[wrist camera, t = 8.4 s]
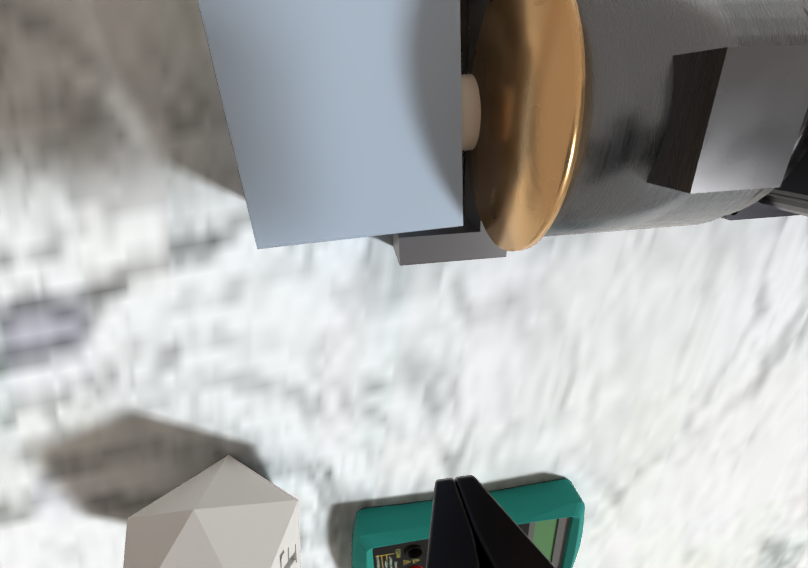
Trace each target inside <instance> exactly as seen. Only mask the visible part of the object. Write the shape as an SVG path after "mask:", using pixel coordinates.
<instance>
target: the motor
mask: <svg viewBox="0 0 808 568" xmlns="http://www.w3.org/2000/svg"><path fill="white" fill-rule="evenodd" d="M472 68H473V69H472V75H473V76H474V77H475V79H476V81H477V84H478V88H479V94H480V103H481V123H480V132H479V137H478V141H477V144H476V146H475V148H474V149H475V150H474V149H473V150H474V151H473V150H470V151H471V152H472V153H471V152H470V153H471V154H472V155H471V154H469V158H470V160H471V161H472V162H471V161H469V162H470V165H471V164H472V165H471V166H474V167H473V168H472V169H473V171H472V169H471V171H470V172H471V174H472V173H473V174H474V175H471V179H472V182H471V183H472V189H473V190H474V191H473V194H474V199H475V203H476V207H477V210H478V213H479V216H480V219H481V221H482V224H483V226H484V228H485V230H486V232H487V234H488V235H489V237H490V238H491V240H492V241H493V242H494V243H495V244H496V245H497V246H498V247H500V248H501V249H503V250H506V251H520V250H525V249H528V248H530V247H532V246H533V245H535V244H536V243H537V242H538V241H539V240H540V239H541V238H542V237H543V236H556V235H569V234H582V233H594V232H607V231H620V230H633V229H645V228H658V227H671V226H684V225H696V224H701V223H706V222H710V221H713V220H715V219H718V218H720V217H723V216H725V215H729V214H732V213H734V212H737V211H740V210H742V209H744V208H746V207H748V206H750V205H752V204H754V203H755V202H757V201H758V200H760V199H761V198H763V197H764V196H766V195H767V194H768V193H770V192H771V191H772V190H773V189H774V188H777V187H780V186H781V183H782V181H783V180H784V179H785V178H786V177H787V176H788V175H789V173H790V172H791V171H792V170H793V169H794V168H795V167H796V165H797V164H798V163H799V161H800V160H801V158H802V157H803V156H804V154H805V153H806V151H807V150H808V0H490V2H489V4H488V7H487V10H486V13H485V16H484V19H483V22H482V26H481V29H480V33H479V37H478V41H477V45H476V50H475V56H474V61H473V67H472ZM479 70H480V71H479ZM476 150H478V151H476ZM468 152H469V151H468ZM470 155H471V156H470ZM476 155H477V156H476ZM474 158H475V159H474ZM471 166H470V167H471ZM476 166H477V167H476ZM472 176H473V177H472ZM474 176H475V177H474ZM477 179H478V180H477ZM475 182H476V183H475ZM478 182H479V183H478ZM474 184H476V185H474ZM473 185H474V186H473ZM474 188H475V189H474ZM476 189H477V190H476ZM475 190H476V191H475ZM474 192H475V193H474Z"/></svg>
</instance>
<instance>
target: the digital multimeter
mask: <svg viewBox="0 0 808 568" xmlns="http://www.w3.org/2000/svg"><path fill="white" fill-rule="evenodd" d="M489 493H490V495H491V496H492V497H493V498H494V499H495V500H496V501H497V502H498V504H499V505H500V506H501V507H502V508H503V509H504V510H505V511H506V513H507V514H508V515H509V516H510V517H511V518H512V519H513V520H514V521H515V523H516V524H517V525H518V526H519V527H520V528H521V529H522V530H523V532H524V533H525V534H526V535H527V536H528V537H529V538H530V539H531V541H532V542H533V543H534V544H535V545H536V546H537V547H538V548H539V550H540V551H541V552H542V553H543V554H544V555H545V556H546V557H547V559H548V560H549V561H550V562H551V563H552V564H553V565H554V566H555V568H572V567H573V564H574V562H575V559H576V556H577V553H578V550H579V546H580V542H581V537H582V531H583V523H584V510H585V505H584V503H583V501H582V499H581V498H580V496H579V494H578V493H577V491H576V489H575V488H574V486H573V484H572V483H571V481H570V480H568V479H561V480H554V481H548V482H541V483H536V484H531V485H525V486H520V487H515V488H510V489H504V490H498V491H491V492H489ZM432 506H433V500H430V501H422V502H415V503H408V504H399V505H390V506H381V507H372V508H365V509H361V510H360V511H358V512H357V515H356V519H355V524H354V528H353V537H352V568H426V560H427V551H428V542H429V533H430V524H431V515H432ZM373 562H374V563H373Z"/></svg>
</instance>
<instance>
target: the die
mask: <svg viewBox="0 0 808 568" xmlns="http://www.w3.org/2000/svg"><path fill="white" fill-rule="evenodd" d="M123 568H301V551H300V529H299V507H298V500H297V499H296V498H294V497H293V496H291V495H290V494H288V493H286V492H285V491H283V490H282V489H280V488H279V487H277V486H276V485H274V484H273V483H271V482H269V481H268V480H266V479H265V478H263V477H262V476H260V475H259V474H257V473H256V472H254V471H253V470H251V469H249V468H248V467H246V466H245V465H243V464H242V463H240V462H239V461H237V460H236V459H234V458H232V457H231V456H229V455H228V456H226V457H224V458H223V459H221V460H220V461H218V462H216V463H215V464H213V465H212V466H210V467H208V468H207V469H205V470H204V471H202V472H200V473H199V474H197V475H196V476H194V477H192V478H191V479H189V480H188V481H186V482H184V483H183V484H181V485H180V486H178V487H176V488H175V489H173V490H172V491H170V492H168V493H167V494H165V495H164V496H162V497H160V498H159V499H157V500H156V501H154V502H152V503H151V504H149V505H148V506H146V507H144V508H143V509H141V510H140V511H138V512H136V513H135V514H133V515H132V516H130V517H128V518H127V529H126V542H125V554H124V566H123Z"/></svg>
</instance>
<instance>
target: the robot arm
mask: <svg viewBox="0 0 808 568" xmlns="http://www.w3.org/2000/svg"><path fill="white" fill-rule="evenodd" d="M792 215H804V216H808V150H807V151H806V153H805V154H804V156H803V157H802V158H801V160H800V161H799V163H798V164H797V165H796V167H795V168H794V169H793V170H792V171H791V172H790V173H789V175H788V176H787V177H786V178H785V179H784V180H783V181H782V183H781V186H780V187H777V188H774V189H773V190H772V191H771V192H770V193H768V194H767V195H766V196H764V197H763V198H761V199H760V200H758V201H757V202H755V203H754V204H752V205H750V206H748V207H746V208H744V209H742V210H740V211H737V212H734V213H732V214H729V215H725V216H723V217H721V218H724V219H728V220H741V219H753V218H766V217H779V216H792ZM426 568H555V566H554V565H553V564H552V563H551V562H550V561H549V560H548V559H547V557H546V556H545V555H544V554H543V553H542V552H541V551H540V550H539V548H538V547H537V546H536V545H535V544H534V543H533V542H532V541H531V539H530V538H529V537H528V536H527V535H526V534H525V533H524V532H523V530H522V529H521V528H520V527H519V526H518V525H517V524H516V523H515V521H514V520H513V519H512V518H511V517H510V516H509V515H508V514H507V513H506V511H505V510H504V509H503V508H502V507H501V506H500V505H499V504H498V502H497V501H496V500H495V499H494V498H493V497H492V496H491V495H490V493H489V492H488V491H487V490H486V489H485V488H484V487H483V486H482V484H481V483H480V482H479V481H478V480H477V479H476V478H475V477H474V476H472V475H466V476H460V477H456V478H455V480H454V479H453V478H446V479H439V480H436V482H435V488H434V497H433V506H432V515H431V524H430V533H429V542H428V551H427V560H426Z"/></svg>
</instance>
